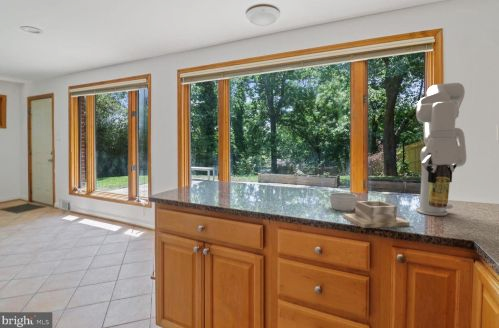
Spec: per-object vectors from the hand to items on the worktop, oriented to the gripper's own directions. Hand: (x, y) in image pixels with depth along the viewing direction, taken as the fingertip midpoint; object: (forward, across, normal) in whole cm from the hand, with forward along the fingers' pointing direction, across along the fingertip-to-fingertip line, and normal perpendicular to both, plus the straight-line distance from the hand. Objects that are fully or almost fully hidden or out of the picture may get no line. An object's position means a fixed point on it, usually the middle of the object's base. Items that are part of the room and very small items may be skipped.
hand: (439, 181), depth 109 cm
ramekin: (+19, +21, -36) cm, 46 cm away
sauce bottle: (+10, 0, 0) cm, 10 cm away
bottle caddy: (+18, +19, -12) cm, 29 cm away
